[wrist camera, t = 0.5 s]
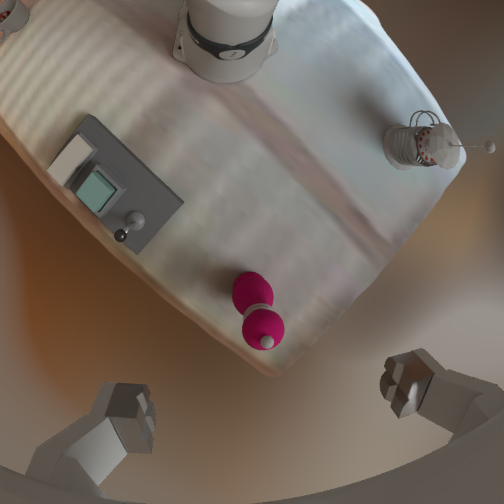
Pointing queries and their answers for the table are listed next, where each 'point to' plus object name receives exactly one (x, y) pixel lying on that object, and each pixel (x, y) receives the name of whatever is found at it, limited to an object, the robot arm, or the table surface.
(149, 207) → the control panel
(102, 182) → the push button
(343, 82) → the table surface
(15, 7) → the cup
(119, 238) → the toggle lever
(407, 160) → the french press
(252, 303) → the pepper mill
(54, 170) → the rocker switch
